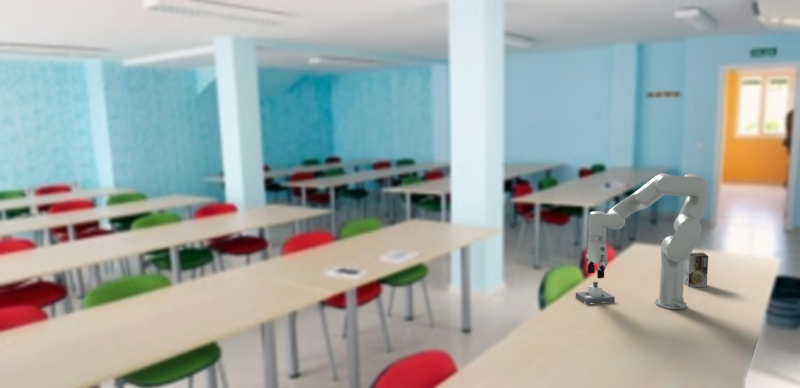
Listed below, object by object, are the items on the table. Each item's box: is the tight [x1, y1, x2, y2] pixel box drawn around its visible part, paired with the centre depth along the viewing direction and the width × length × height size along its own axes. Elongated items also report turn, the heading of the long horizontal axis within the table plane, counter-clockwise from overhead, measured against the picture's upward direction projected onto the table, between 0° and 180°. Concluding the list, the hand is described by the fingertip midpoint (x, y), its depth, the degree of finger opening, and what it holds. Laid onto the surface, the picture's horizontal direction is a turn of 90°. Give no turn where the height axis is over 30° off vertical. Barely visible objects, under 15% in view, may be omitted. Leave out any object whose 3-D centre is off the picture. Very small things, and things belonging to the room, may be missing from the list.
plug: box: [587, 281, 603, 298], centre depth 264 cm, size 4×4×8 cm
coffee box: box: [684, 252, 709, 288], centre depth 284 cm, size 9×6×16 cm
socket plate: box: [575, 289, 616, 305], centre depth 265 cm, size 10×14×3 cm
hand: (595, 275), depth 263 cm, fingers open, 7 cm apart
